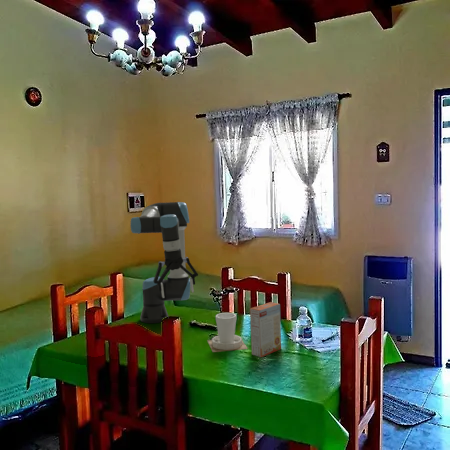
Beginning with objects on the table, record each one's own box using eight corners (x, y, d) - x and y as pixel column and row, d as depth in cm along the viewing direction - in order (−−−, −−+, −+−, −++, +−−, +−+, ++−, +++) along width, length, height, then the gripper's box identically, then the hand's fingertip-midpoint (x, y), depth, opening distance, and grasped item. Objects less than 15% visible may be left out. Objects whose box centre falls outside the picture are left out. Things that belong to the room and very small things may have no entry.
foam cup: (234, 347, 208) (233, 318, 207) (214, 346, 210) (213, 318, 209) (238, 340, 218) (237, 313, 217) (219, 339, 220) (218, 312, 218)
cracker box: (271, 346, 211) (270, 301, 209) (281, 349, 207) (281, 303, 205) (250, 354, 201) (249, 307, 200) (261, 358, 197) (260, 310, 195)
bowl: (210, 340, 219) (210, 335, 219) (238, 338, 222) (238, 333, 222) (215, 350, 206) (214, 345, 206) (244, 348, 209) (244, 342, 208)
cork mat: (207, 341, 220) (207, 340, 220) (240, 338, 223) (240, 337, 223) (212, 353, 205) (212, 352, 205) (248, 349, 208) (248, 348, 208)
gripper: (145, 255, 202) (151, 301, 206) (201, 246, 208) (206, 291, 212) (143, 252, 209) (149, 297, 213) (197, 243, 215) (202, 287, 219)
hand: (178, 294), depth 212 cm, fingers open, 13 cm apart
